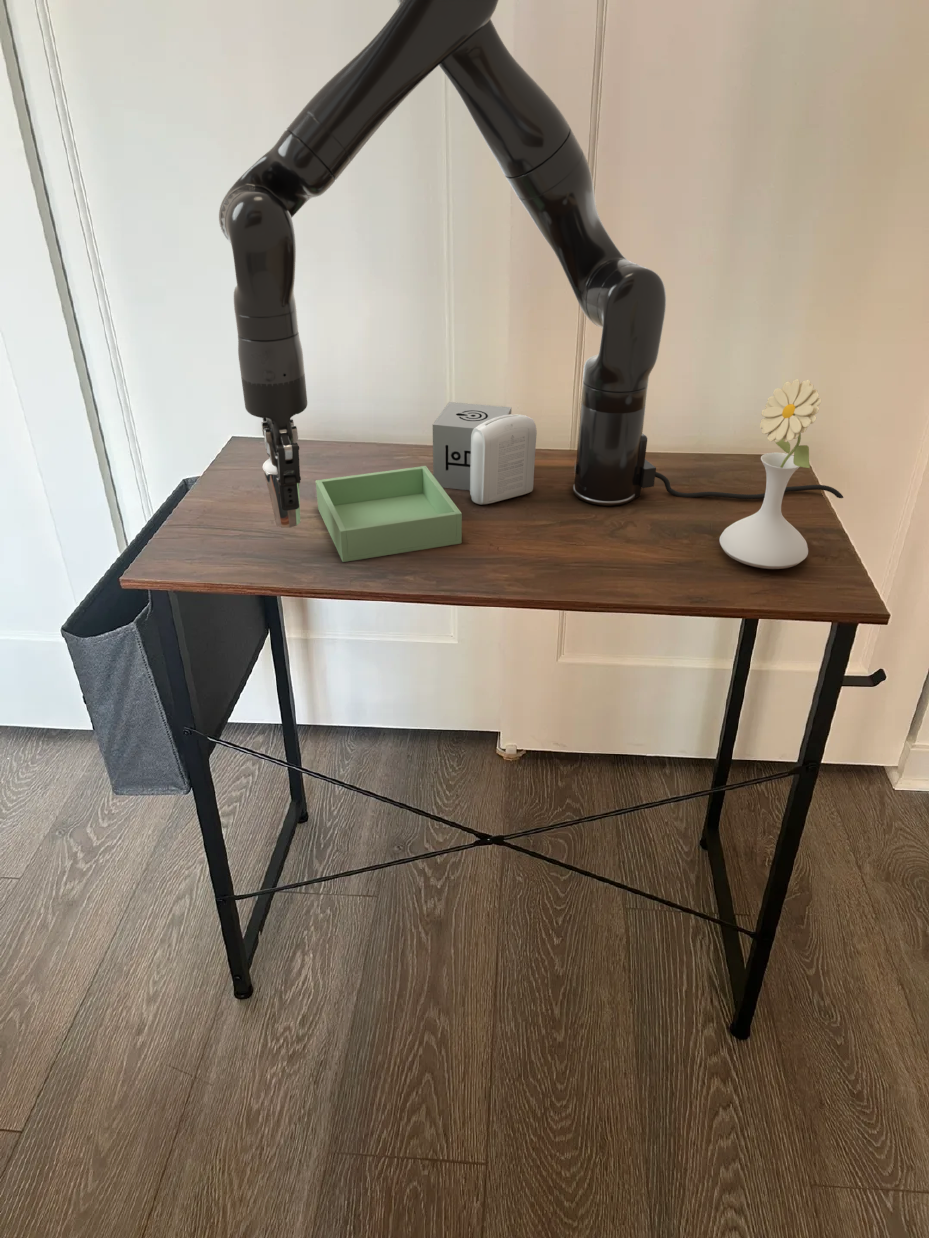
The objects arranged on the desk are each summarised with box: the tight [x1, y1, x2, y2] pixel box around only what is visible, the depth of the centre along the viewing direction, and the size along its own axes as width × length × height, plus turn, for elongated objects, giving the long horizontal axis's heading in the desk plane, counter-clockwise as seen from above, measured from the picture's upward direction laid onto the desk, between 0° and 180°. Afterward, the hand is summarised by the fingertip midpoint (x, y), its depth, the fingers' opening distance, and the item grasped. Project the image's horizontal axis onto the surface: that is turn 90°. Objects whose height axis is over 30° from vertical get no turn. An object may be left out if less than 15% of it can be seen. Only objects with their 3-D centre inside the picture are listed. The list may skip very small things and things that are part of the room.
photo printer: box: [469, 413, 538, 506], centre depth 132 cm, size 10×4×12 cm, turn 123°
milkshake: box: [262, 456, 301, 529], centre depth 116 cm, size 4×5×10 cm
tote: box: [315, 465, 463, 563], centre depth 126 cm, size 17×17×5 cm
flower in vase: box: [719, 378, 822, 570], centre depth 113 cm, size 13×11×25 cm
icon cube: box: [432, 401, 512, 491], centre depth 138 cm, size 10×10×10 cm
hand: (287, 500), depth 117 cm, fingers closed on milkshake, 4 cm apart
